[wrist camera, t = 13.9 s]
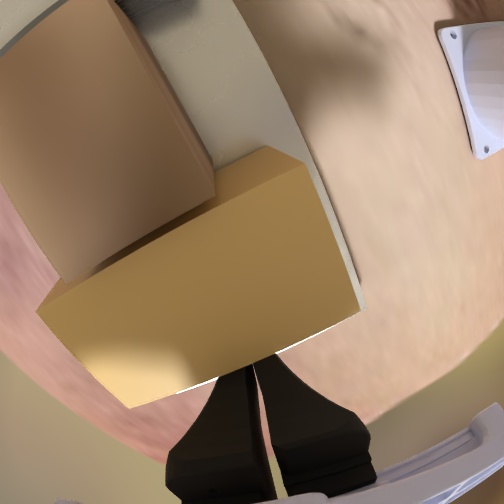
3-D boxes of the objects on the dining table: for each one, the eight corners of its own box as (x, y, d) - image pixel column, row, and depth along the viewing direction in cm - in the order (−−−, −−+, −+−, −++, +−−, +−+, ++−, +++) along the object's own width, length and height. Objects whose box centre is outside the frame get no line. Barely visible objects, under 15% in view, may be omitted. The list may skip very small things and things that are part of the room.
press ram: (268, 145, 12) (305, 163, 7) (314, 248, 14) (361, 310, 9) (83, 248, 13) (35, 311, 8) (145, 330, 15) (128, 408, 10)
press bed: (164, -89, 7) (155, -135, 4) (358, 297, 17) (392, 342, 14) (-28, 41, 8) (-76, 34, 4) (177, 379, 18) (175, 433, 14)
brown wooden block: (144, 37, 10) (96, -19, 4) (212, 160, 12) (216, 195, 7) (54, 98, 10) (-37, 99, 5) (120, 214, 13) (65, 284, 7)
